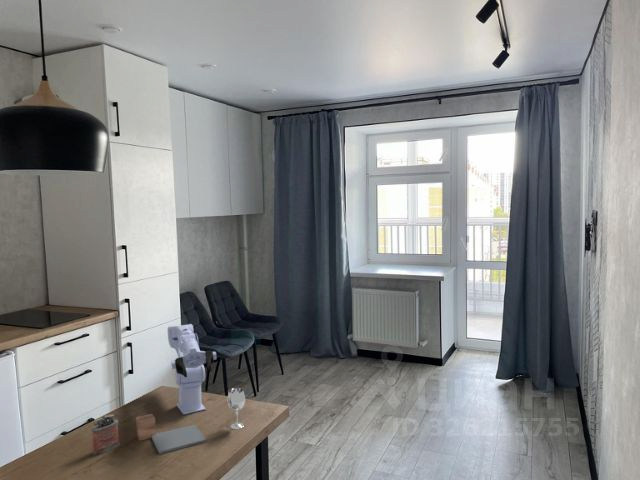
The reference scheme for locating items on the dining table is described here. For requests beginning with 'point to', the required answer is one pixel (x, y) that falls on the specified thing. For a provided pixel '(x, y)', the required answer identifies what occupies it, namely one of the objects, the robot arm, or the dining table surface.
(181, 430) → the mat
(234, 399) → the wineglass
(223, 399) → the dining table surface
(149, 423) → the block
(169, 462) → the dining table surface
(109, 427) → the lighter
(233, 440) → the dining table surface
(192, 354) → the robot arm
